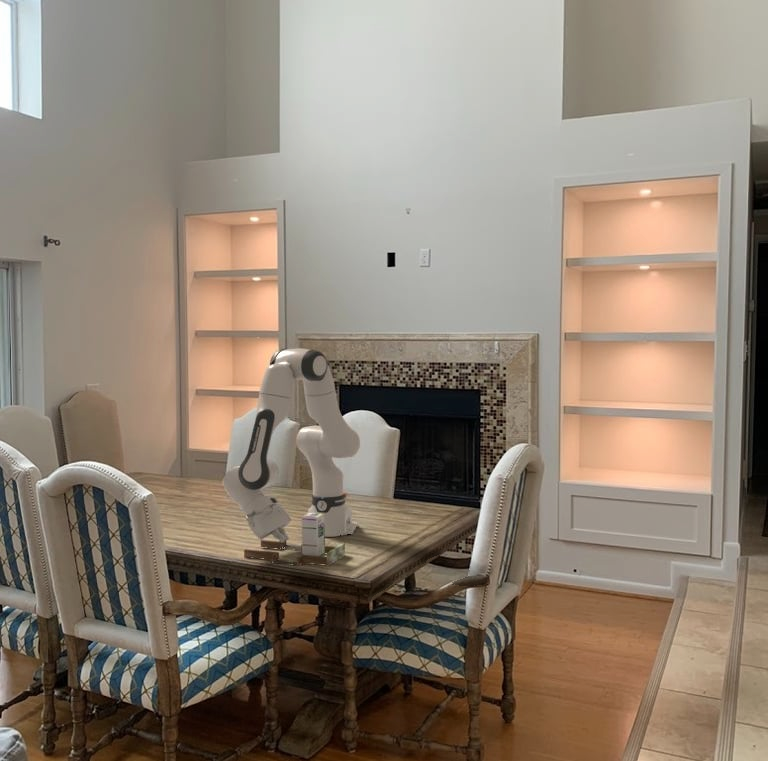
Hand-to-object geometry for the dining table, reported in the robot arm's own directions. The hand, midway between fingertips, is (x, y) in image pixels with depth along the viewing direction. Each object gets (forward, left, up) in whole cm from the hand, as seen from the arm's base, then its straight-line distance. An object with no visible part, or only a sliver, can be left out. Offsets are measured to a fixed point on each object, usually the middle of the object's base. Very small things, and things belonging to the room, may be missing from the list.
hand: (285, 540), depth 266 cm
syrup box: (0, +10, -5) cm, 11 cm away
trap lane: (-1, +3, -5) cm, 6 cm away
